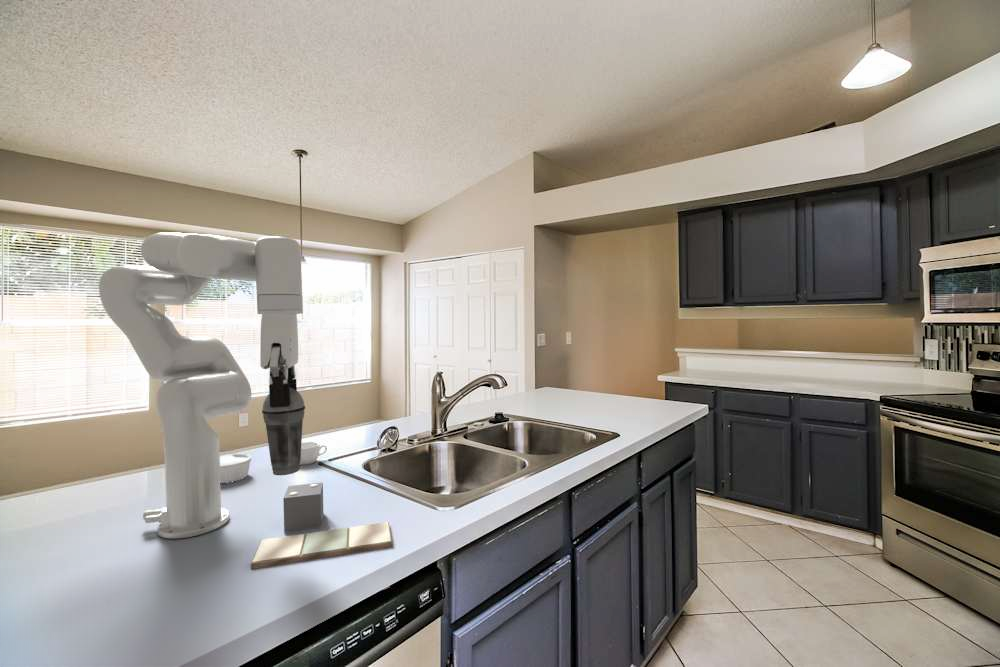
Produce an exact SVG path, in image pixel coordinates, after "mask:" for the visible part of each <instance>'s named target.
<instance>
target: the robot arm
mask: <svg viewBox="0 0 1000 667" xmlns="http://www.w3.org/2000/svg"><path fill="white" fill-rule="evenodd" d="M140 253H141V257H142V258H143V261H145V263H146V264H147V265H148V266H146V265H135V264H134V265H128V264H127V265H119V266H113V267H111V268H108V269H106V270H105V271H104V272H103V273H102V275H101V276H100V278H99V282H98V293H99V298H100V301H101V304H102V307H103V309H104V311H105V312H106V314H107V315H108V317H109V318H110V319H111V321H112V322H113V323H114V324H115V326H117V328H118V329H120V331H122V332H123V334H124V335H125V337H126V338H127V339H128V341H129V343H130V344H131V347H132V348H133V350H134V352H135V353H136V355H137V356H138V358H139V360H140V362H141V363H142V366H143V367H144V369H145V370H146V372H147V373H148V375H149V376H150V377H151V378H152V379H154V380H155V381H157V382H162V383H163V384H162V385H161V386H160V387H159V388H158V390H157V392H156V399H155V401H156V407H157V412H158V415H159V418H160V422H161V428H162V436H163V452H164V472H165V474H164V475H165V477H164V478H165V503H166V504H165V505H166V506H163V507H162V508H159V509H155V508H154V509H147V510H144V512H143V515H142V520H143V521H144V522H145V524H150V523H157V522H158V523H159V524H158V526H157V535H158V536H159V537H161V538H164V539H175V540H176V539H184V538H191V537H196V536H199V535H203V534H206V533H210V532H212V531H214V530H216V529H219V528H221V527H222V526H224V525H225V524H226V523H227V522H228V521H229V520H230V515H231V514H230V511H229V510H228V509H227V508H224V507H222V498H221V497H222V495H221V494H222V493H221V484H220V456H221V455H220V439H219V436H218V434H217V432H216V431H215V429H213V427H212V426H211V425H210V424H209V423H208V419H212V418H216V417H222V416H226V415H230V414H231V415H232V414H236V413H238V412H241V411H243V410H245V409H246V408H247V407H248V406H249V404H250V402H251V400H252V388H251V385H250V383H249V380H248V378H247V376H246V375H245V373H244V372H243V370H242V368H241V367H240V365H239V363H238V362H237V360H236V359H235V357H234V356H233V355H232V353H231V351H230V350H229V348H228V347H227V345H226V344H224V342H223V341H221V340H219V339H218V338H215V337H213V336H185V335H182V334H181V333H180V332H179V331H178V330H177V328H176V327H175V325H174V323H173V322H172V321H171V319H169V318H168V317H167V316H166V315H165V314H163V313H162V312H160V311H158V310H157V309H155V308H153V307H151V306H150V305H161V306H162V305H167V306H182V305H188V304H190V303H193V301H195V300H196V299H197V298H198V297H199V296H200V295H201V293H202V292H203V291H204V290H205V288H206V287H207V286H208V285H209V283H210V282H211V281H212V280H213V279H218V280H219V279H221V280H235V281H237V280H238V281H244V282H245V281H246V282H255V284H256V285H255V287H256V288H255V289H256V310H257V311H256V313H257V315H261V319H260V347H259V348H260V353H259V354H260V362H259V363H260V365H259V366H260V367H261V369H262V370H267V369H269V379H268V381H269V383H268V384H269V385H268V391H269V393H268V394H269V395H270V407H272V408H273V407H287V406H289V405H290V388H292V389H294V390H296V391H297V392H298V390H297V388H298V387H297V378H296V375H297V374H296V367H295V365H296V364H298V362H299V336H298V335H299V332H298V316H297V315H299V314H304V309H303V307H304V306H303V305H304V304H303V280H302V278H303V277H302V255H301V246H300V243H299V242H298V241H297V240H296V239H293V238H291V237H284V236H276V235H275V236H273V235H272V236H269V235H268V236H263V237H260V238H258V239H257V240H256V241H251V240H247V239H240V238H235V237H229V236H221V235H215V234H214V235H213V234H203V233H202V234H201V233H199V234H198V233H182V232H169V231H168V232H166V231H165V232H157V233H154V234H151V235H149V236H147V237H146V238H145V239H144V240H143V241H142V243H141V245H140ZM279 364H280V366H279Z"/></svg>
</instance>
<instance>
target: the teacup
mask: <svg viewBox="0 0 1000 667" xmlns="http://www.w3.org/2000/svg"><path fill="white" fill-rule="evenodd" d="M322 448H325V449H324V451H322V452H320V450H321V449H322ZM327 449H328V448H327V446H326V445H324V444H323V445H322V444H320V442H318V441H302V442H301V461H300V466H305V465H306V466H307V465H311V464H313V463H315V462H316V461H317V460H318V458H319V457H321V455H324V454H325V453H326V452H327Z"/></svg>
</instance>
